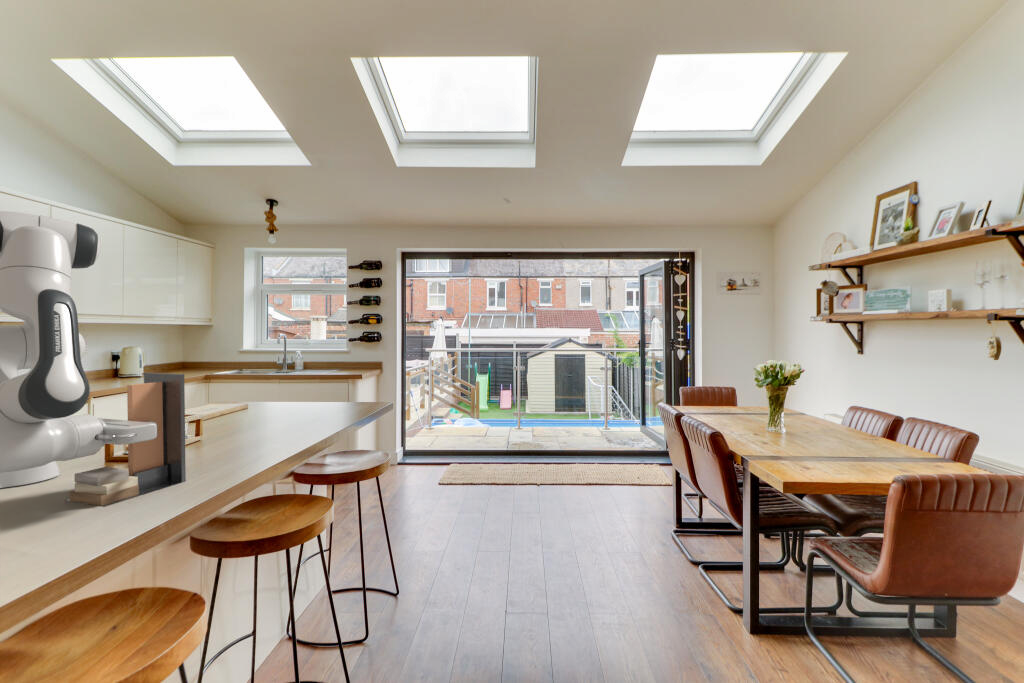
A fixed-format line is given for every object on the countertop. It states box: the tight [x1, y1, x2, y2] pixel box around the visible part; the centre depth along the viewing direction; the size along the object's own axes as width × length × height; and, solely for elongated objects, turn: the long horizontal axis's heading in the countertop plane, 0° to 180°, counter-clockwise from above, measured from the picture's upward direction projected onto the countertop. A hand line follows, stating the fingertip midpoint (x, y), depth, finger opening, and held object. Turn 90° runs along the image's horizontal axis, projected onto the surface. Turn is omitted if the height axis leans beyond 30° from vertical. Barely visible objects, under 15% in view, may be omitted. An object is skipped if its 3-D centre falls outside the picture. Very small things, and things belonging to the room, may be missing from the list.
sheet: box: [126, 382, 164, 476], centre depth 116 cm, size 7×2×24 cm, turn 162°
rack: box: [65, 372, 187, 508], centre depth 112 cm, size 18×12×28 cm, turn 162°
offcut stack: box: [69, 466, 139, 507], centre depth 108 cm, size 8×10×6 cm
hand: (147, 423), depth 116 cm, fingers closed on sheet, 2 cm apart
